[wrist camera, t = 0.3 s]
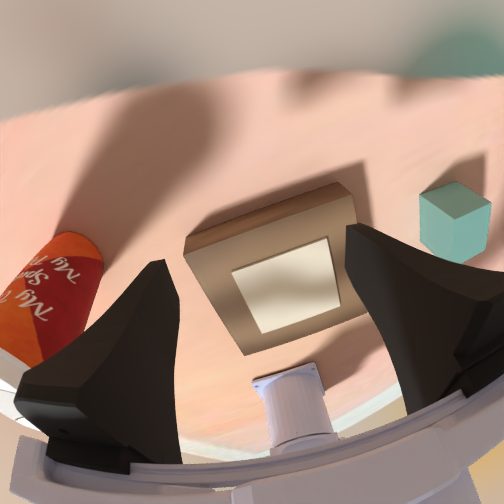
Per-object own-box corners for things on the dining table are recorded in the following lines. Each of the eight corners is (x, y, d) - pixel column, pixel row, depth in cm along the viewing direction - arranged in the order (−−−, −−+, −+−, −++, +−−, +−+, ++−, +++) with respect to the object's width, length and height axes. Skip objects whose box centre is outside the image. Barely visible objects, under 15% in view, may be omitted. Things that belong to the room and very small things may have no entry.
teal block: (454, 224, 24) (485, 250, 19) (419, 240, 24) (449, 269, 20) (455, 180, 21) (491, 202, 17) (418, 194, 21) (454, 219, 17)
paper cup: (91, 207, 19) (-10, 354, 7) (130, 286, 23) (91, 441, 11) (25, 234, 19) (-63, 354, 7) (64, 301, 23) (15, 428, 11)
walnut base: (355, 292, 27) (368, 314, 24) (241, 332, 28) (244, 357, 25) (335, 180, 20) (353, 195, 18) (186, 234, 21) (182, 256, 19)
